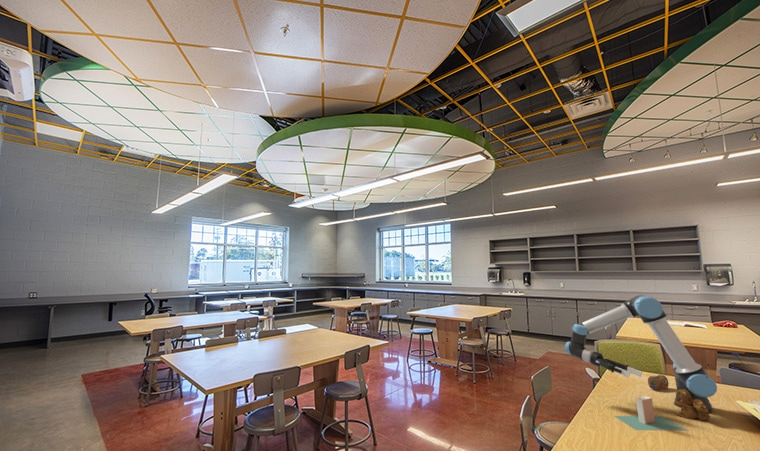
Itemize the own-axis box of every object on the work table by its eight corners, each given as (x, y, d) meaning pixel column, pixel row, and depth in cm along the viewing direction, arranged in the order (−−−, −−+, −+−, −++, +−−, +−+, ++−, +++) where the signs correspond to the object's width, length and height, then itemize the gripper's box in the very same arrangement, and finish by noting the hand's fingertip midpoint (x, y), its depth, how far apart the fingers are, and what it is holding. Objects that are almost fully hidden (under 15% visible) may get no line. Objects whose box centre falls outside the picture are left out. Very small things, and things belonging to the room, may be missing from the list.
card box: (648, 419, 162) (645, 396, 164) (655, 421, 160) (652, 398, 162) (639, 422, 159) (635, 398, 161) (645, 424, 157) (642, 400, 159)
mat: (660, 416, 166) (660, 415, 166) (688, 431, 150) (688, 430, 150) (613, 416, 167) (613, 415, 167) (636, 431, 151) (636, 430, 151)
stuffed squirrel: (682, 411, 173) (678, 385, 175) (717, 421, 160) (712, 393, 162) (672, 414, 169) (667, 387, 171) (706, 425, 156) (701, 396, 158)
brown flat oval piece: (653, 391, 203) (651, 377, 205) (647, 389, 206) (645, 375, 208) (670, 388, 207) (667, 374, 209) (664, 387, 210) (662, 373, 212)
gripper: (602, 363, 193) (644, 381, 174) (580, 363, 181) (622, 382, 162) (604, 351, 193) (647, 367, 174) (582, 350, 181) (625, 367, 163)
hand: (635, 374), depth 168 cm, fingers open, 13 cm apart
